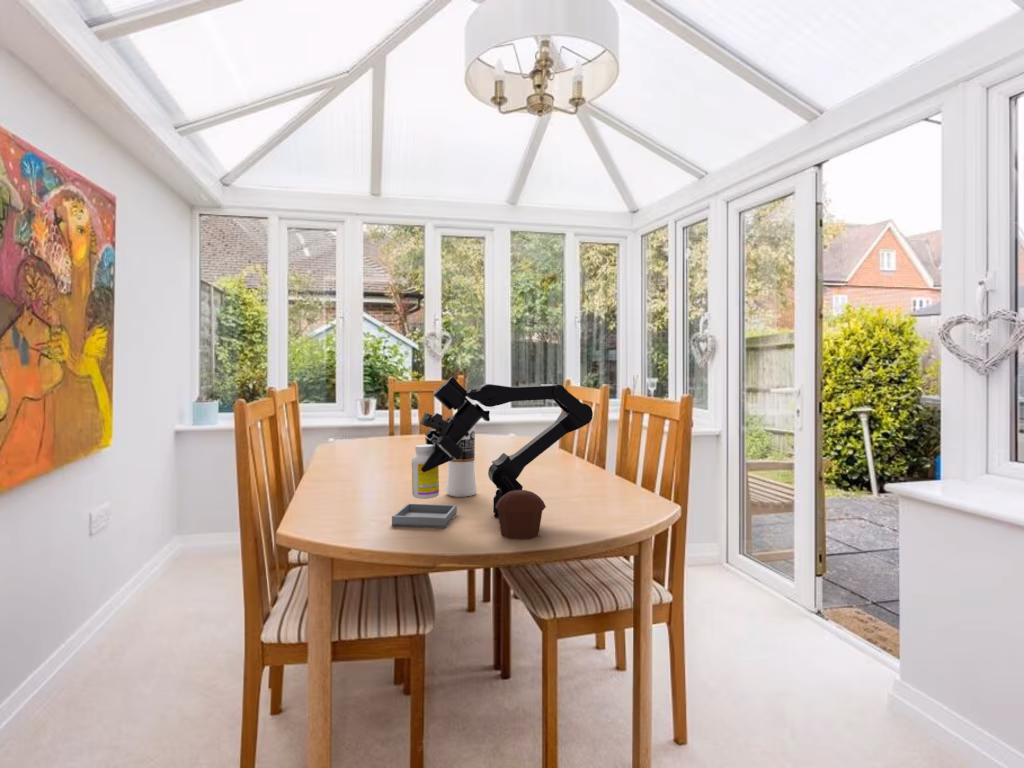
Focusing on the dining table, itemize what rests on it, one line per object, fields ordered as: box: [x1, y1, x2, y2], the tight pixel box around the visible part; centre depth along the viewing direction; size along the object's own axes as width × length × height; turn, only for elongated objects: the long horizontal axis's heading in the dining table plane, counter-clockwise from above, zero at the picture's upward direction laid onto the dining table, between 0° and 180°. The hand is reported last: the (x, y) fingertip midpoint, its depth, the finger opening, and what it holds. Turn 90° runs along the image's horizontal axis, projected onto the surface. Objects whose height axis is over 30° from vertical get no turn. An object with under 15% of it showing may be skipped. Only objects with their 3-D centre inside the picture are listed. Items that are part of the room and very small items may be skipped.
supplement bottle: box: [411, 443, 440, 500], centre depth 149 cm, size 7×7×13 cm
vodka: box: [445, 401, 478, 498], centre depth 179 cm, size 9×9×30 cm
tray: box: [391, 503, 458, 529], centre depth 150 cm, size 13×13×2 cm
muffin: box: [495, 489, 547, 541], centre depth 138 cm, size 12×11×10 cm
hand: (419, 468), depth 149 cm, fingers closed on supplement bottle, 7 cm apart
